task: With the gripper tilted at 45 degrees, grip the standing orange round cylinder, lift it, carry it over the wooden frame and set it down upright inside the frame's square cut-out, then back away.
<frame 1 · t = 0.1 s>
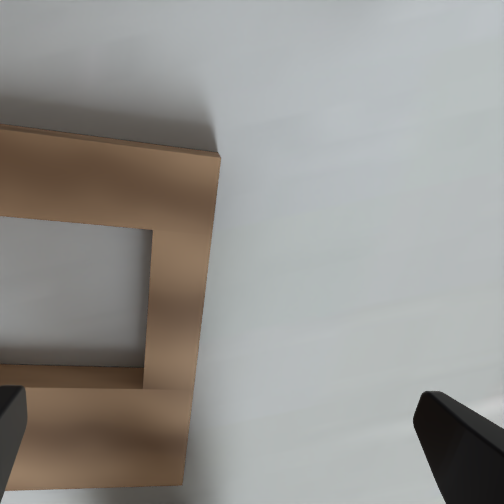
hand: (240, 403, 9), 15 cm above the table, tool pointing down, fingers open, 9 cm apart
wooden frame: (61, 323, 23), on the table
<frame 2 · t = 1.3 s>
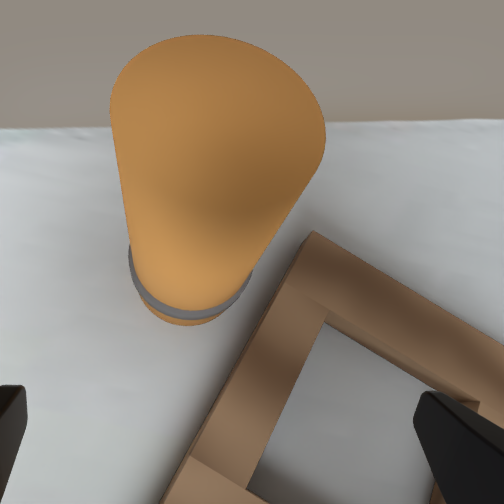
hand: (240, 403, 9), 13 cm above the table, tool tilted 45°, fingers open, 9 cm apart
orange round cylinder: (188, 275, 24), on the table
wooden frame: (344, 475, 21), on the table
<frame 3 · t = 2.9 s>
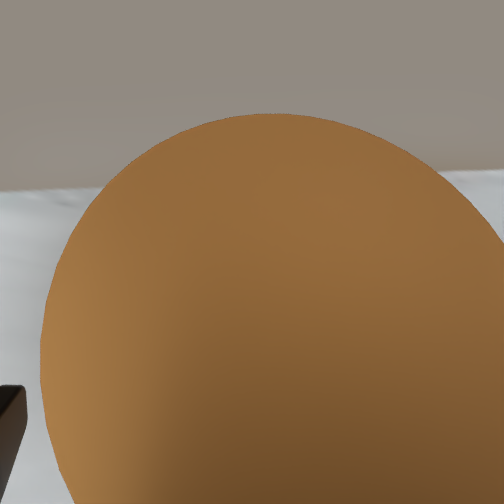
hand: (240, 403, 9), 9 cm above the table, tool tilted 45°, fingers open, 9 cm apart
orange round cylinder: (205, 400, 17), on the table
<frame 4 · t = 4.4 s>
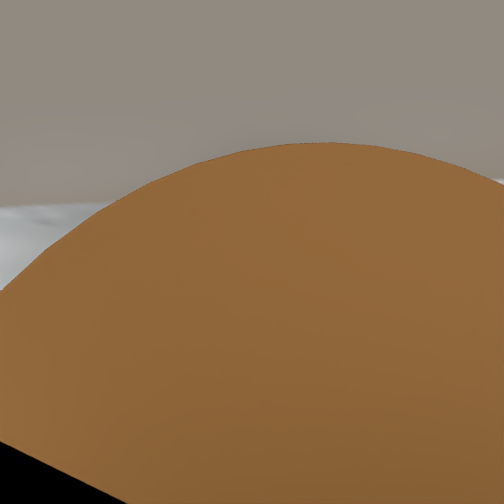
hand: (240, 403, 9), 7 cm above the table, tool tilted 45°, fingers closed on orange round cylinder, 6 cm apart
orange round cylinder: (206, 454, 15), on the table, touching gripper
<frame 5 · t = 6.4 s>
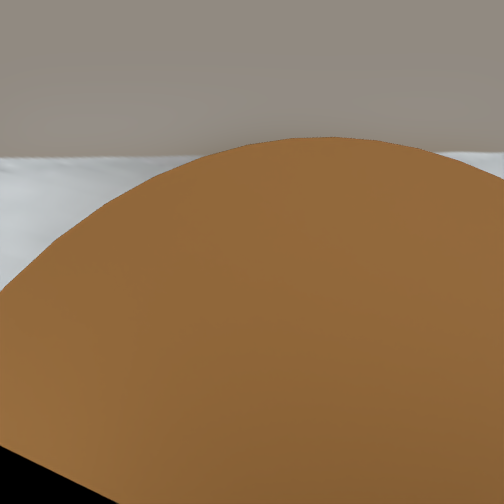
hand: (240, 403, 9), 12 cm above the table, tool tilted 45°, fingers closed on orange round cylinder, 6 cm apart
orange round cylinder: (206, 453, 15), point 5 cm above the table, touching gripper
when the fingers open (8 cm above the table, at t = 8.7 s): orange round cylinder drops 1 cm, resting in wooden frame.
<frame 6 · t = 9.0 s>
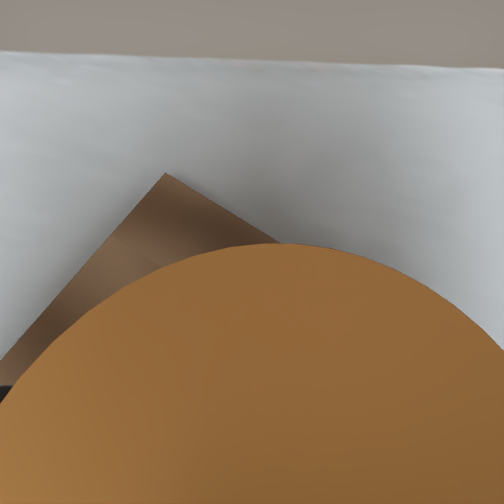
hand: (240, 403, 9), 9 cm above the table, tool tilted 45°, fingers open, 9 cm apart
orange round cylinder: (199, 453, 16), resting in wooden frame
wooden frame: (173, 502, 15), on the table
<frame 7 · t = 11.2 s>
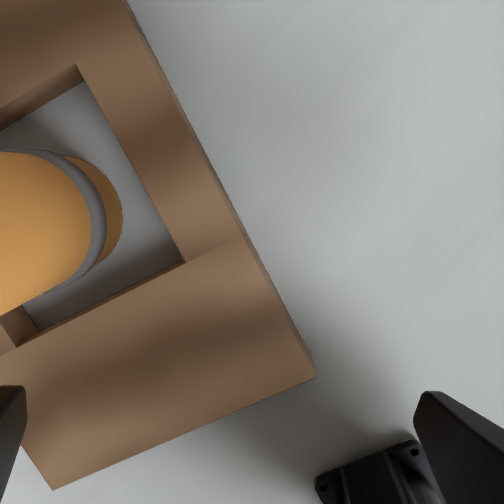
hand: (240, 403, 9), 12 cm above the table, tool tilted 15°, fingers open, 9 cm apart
orange round cylinder: (66, 214, 21), resting in wooden frame
wooden frame: (85, 245, 21), on the table
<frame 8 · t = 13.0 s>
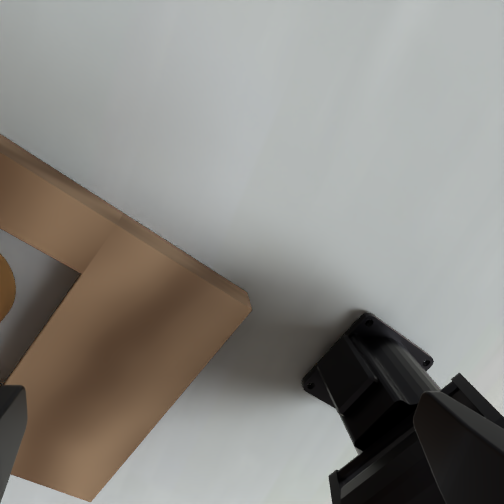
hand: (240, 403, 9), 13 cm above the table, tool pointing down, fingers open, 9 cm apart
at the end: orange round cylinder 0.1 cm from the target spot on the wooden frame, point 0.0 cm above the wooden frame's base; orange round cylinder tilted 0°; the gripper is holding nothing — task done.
